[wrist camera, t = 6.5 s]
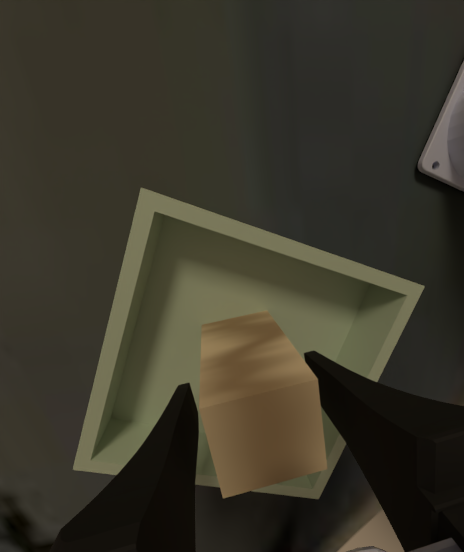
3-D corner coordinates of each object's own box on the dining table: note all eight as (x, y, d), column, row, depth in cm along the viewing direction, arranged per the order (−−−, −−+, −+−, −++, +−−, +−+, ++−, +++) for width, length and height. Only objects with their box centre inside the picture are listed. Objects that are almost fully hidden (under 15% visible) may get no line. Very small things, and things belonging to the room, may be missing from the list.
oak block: (267, 310, 15) (317, 378, 8) (276, 367, 16) (327, 468, 9) (201, 324, 15) (198, 408, 8) (215, 382, 16) (223, 498, 9)
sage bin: (378, 273, 16) (424, 286, 13) (298, 450, 19) (318, 499, 16) (157, 197, 13) (141, 187, 10) (100, 418, 16) (72, 469, 13)
